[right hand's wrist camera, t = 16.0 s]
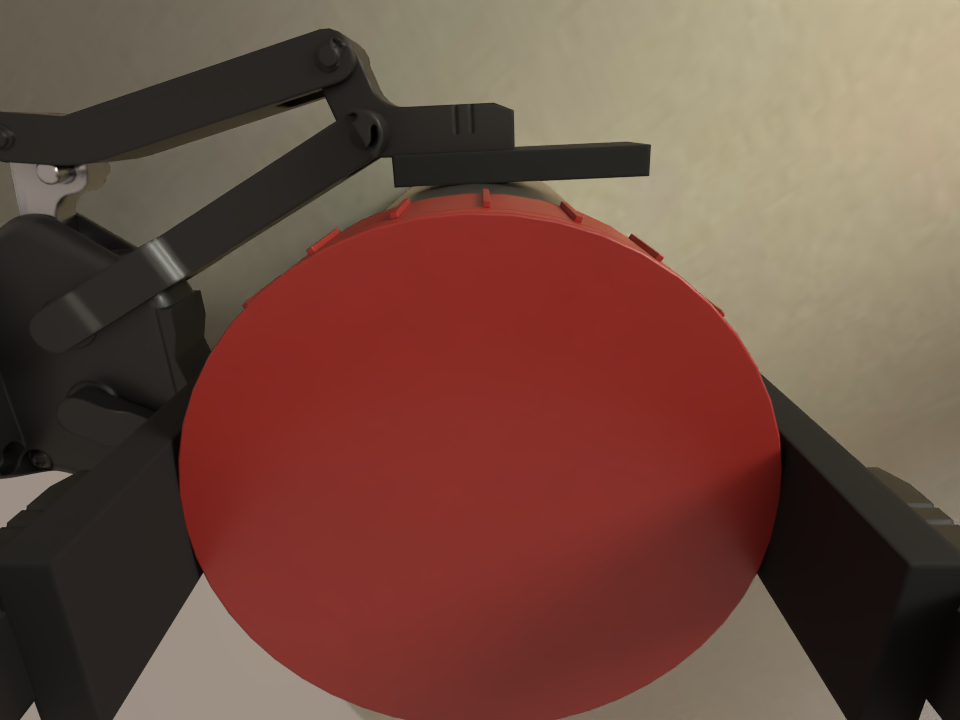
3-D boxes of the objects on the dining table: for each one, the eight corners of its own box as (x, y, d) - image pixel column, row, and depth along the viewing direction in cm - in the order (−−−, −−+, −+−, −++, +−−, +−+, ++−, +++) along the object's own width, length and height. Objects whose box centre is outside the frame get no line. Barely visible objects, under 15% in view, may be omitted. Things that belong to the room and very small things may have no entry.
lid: (789, 215, 11) (873, 239, 8) (674, 648, 14) (710, 747, 12) (214, 163, 10) (140, 174, 8) (245, 618, 14) (199, 714, 12)
